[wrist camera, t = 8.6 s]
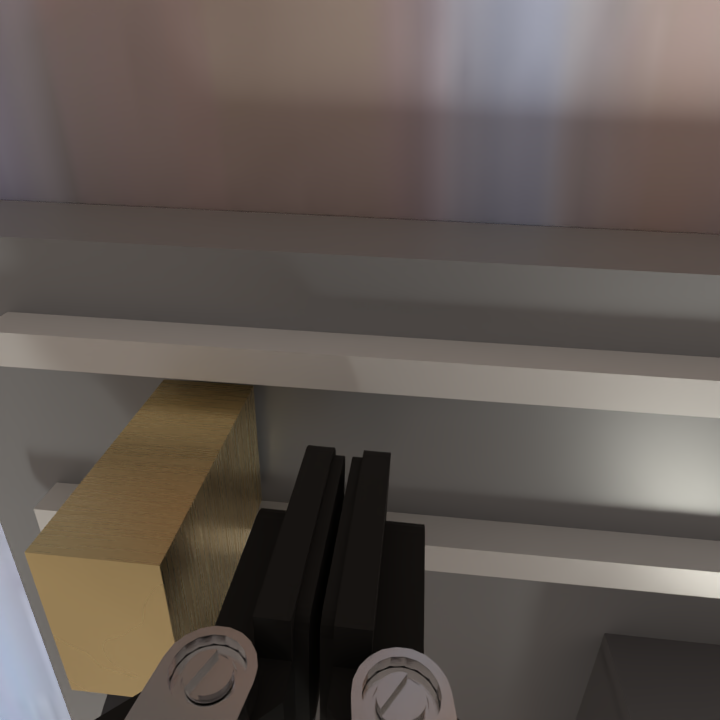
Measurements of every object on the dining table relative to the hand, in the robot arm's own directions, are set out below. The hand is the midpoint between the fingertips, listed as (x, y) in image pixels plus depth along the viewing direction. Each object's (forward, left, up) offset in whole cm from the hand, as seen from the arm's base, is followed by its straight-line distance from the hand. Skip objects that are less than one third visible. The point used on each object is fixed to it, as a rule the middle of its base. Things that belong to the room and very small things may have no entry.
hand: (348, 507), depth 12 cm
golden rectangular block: (+3, 0, -2) cm, 4 cm away
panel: (-3, +4, -5) cm, 7 cm away
